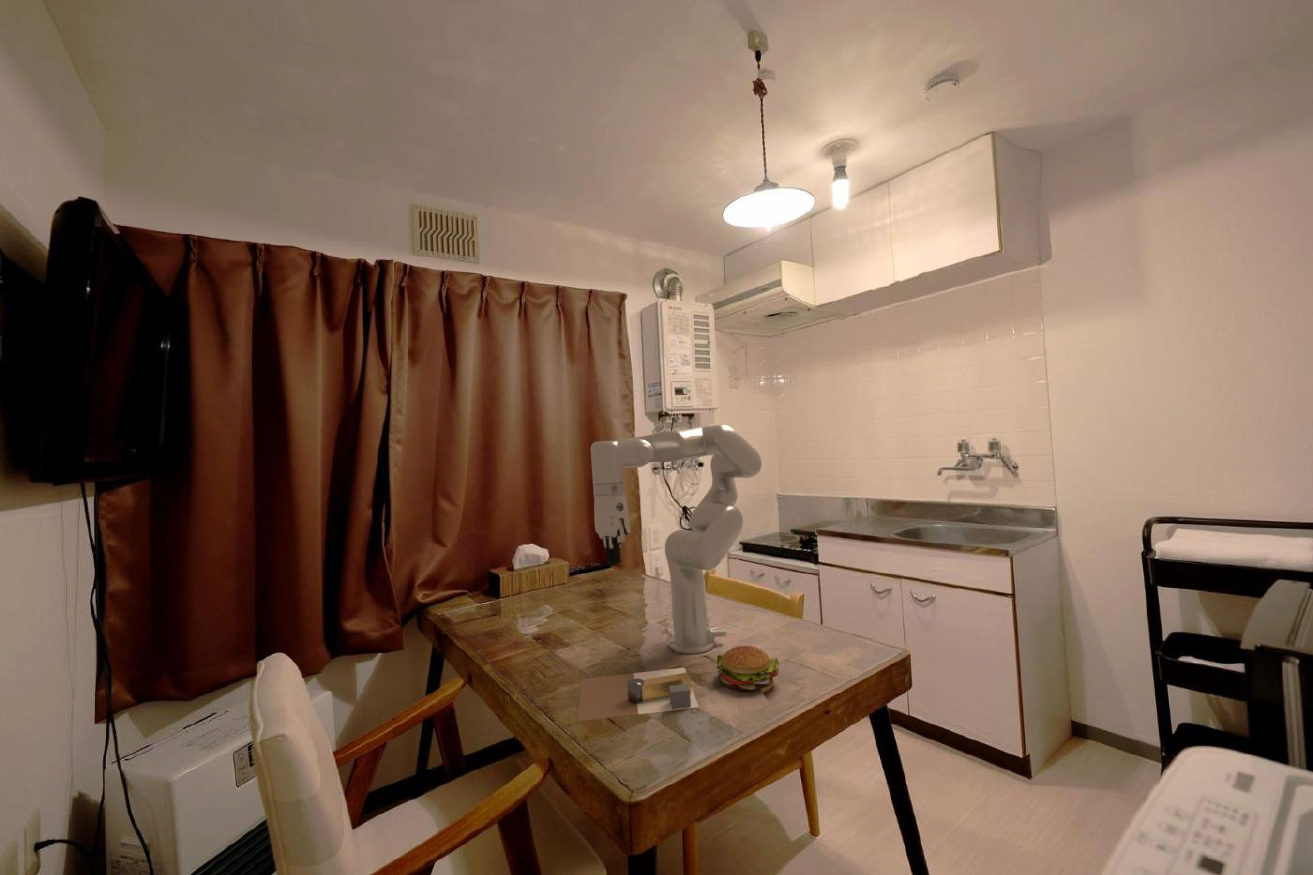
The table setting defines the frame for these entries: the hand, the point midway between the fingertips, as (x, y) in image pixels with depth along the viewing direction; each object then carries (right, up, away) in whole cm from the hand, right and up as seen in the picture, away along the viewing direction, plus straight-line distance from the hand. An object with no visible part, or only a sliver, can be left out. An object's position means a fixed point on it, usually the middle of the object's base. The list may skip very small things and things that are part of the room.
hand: (613, 563), depth 127 cm
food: (+32, -25, -10) cm, 42 cm away
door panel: (+6, -27, -13) cm, 30 cm away
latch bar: (+11, -25, -16) cm, 32 cm away
